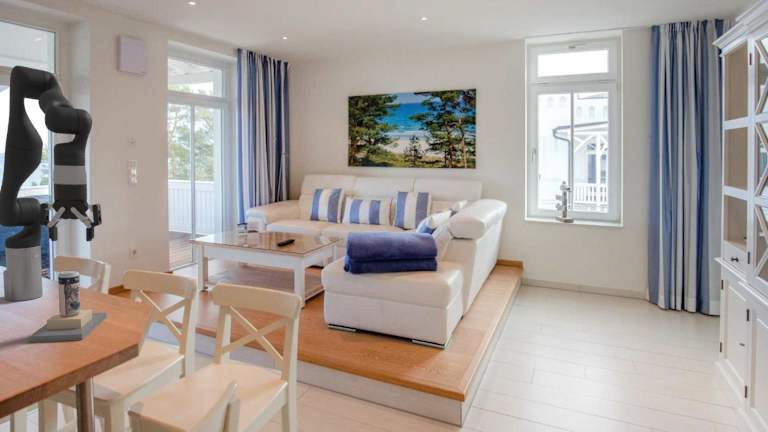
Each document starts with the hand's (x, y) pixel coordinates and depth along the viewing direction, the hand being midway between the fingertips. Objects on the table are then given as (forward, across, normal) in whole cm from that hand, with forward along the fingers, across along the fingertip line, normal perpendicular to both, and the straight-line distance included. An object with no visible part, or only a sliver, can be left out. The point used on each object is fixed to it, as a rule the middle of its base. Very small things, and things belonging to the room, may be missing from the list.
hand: (71, 240), depth 127 cm
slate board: (+24, 0, +3) cm, 24 cm away
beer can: (+20, 0, +3) cm, 21 cm away
